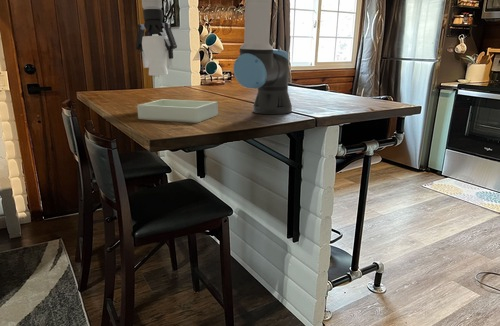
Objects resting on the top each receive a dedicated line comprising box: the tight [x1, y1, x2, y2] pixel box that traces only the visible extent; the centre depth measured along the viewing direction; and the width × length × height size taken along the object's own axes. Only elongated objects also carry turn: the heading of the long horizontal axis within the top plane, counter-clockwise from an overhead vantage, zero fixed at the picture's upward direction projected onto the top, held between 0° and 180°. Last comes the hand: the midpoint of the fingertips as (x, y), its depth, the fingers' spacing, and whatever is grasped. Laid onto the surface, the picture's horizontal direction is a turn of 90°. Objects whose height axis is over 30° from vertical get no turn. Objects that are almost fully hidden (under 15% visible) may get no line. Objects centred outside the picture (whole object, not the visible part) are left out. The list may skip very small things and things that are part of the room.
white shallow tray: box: [136, 98, 219, 124], centre depth 140 cm, size 24×16×5 cm, turn 69°
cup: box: [142, 35, 169, 76], centre depth 154 cm, size 11×11×15 cm
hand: (157, 67), depth 156 cm, fingers closed on cup, 10 cm apart
